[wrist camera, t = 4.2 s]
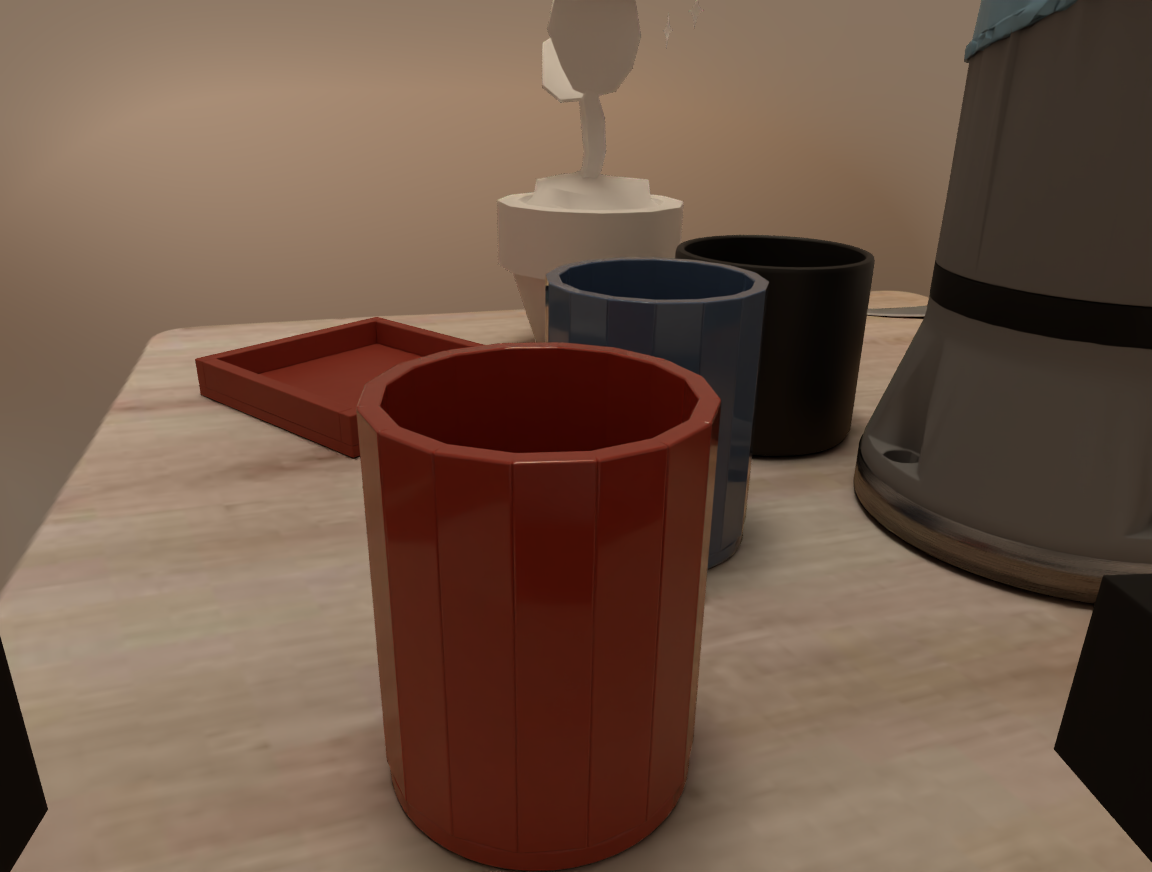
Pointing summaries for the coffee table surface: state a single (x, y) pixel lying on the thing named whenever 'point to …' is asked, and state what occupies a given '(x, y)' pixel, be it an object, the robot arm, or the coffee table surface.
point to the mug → (801, 334)
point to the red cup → (538, 592)
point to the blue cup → (678, 347)
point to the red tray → (316, 376)
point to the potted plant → (585, 163)
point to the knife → (899, 311)
